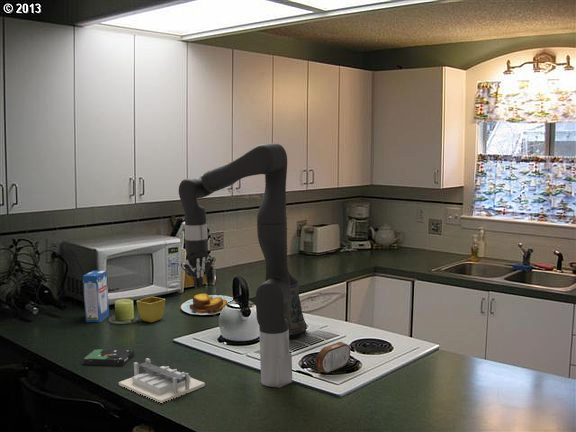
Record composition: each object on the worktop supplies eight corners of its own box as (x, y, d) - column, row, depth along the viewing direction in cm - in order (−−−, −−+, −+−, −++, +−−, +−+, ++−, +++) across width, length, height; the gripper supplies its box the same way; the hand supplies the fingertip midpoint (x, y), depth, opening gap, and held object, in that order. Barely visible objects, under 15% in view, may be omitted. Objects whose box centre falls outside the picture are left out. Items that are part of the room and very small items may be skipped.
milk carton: (95, 315, 285) (92, 270, 282) (109, 315, 284) (106, 270, 281) (85, 322, 275) (82, 275, 272) (99, 322, 274) (96, 276, 271)
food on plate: (249, 308, 290) (248, 294, 289) (204, 321, 273) (203, 306, 272) (214, 298, 308) (213, 285, 307) (170, 310, 291) (169, 295, 290)
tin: (345, 362, 222) (345, 338, 221) (352, 364, 220) (352, 340, 219) (315, 374, 212) (314, 349, 211) (322, 377, 210) (322, 352, 208)
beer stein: (298, 325, 263) (297, 265, 260) (315, 340, 245) (314, 275, 242) (259, 330, 258) (257, 269, 255) (273, 345, 240) (271, 280, 236)
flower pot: (152, 316, 281) (151, 296, 280) (166, 319, 276) (165, 298, 275) (137, 321, 274) (135, 300, 273) (151, 324, 269) (150, 303, 268)
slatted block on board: (204, 385, 205) (204, 368, 204) (161, 403, 192) (160, 385, 191) (162, 369, 219) (161, 353, 218) (118, 385, 207) (117, 367, 206)
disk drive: (134, 357, 234) (95, 355, 236) (134, 349, 233) (95, 347, 236) (123, 367, 224) (82, 365, 226) (123, 359, 223) (82, 358, 225)
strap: (186, 380, 199) (185, 376, 199) (178, 383, 197) (178, 379, 197) (146, 365, 213) (146, 361, 213) (138, 367, 211) (138, 364, 211)
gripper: (187, 241, 209) (190, 293, 212) (218, 235, 219) (220, 285, 222) (173, 239, 214) (175, 290, 217) (204, 233, 224) (206, 282, 227)
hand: (198, 287), depth 219 cm, fingers closed
